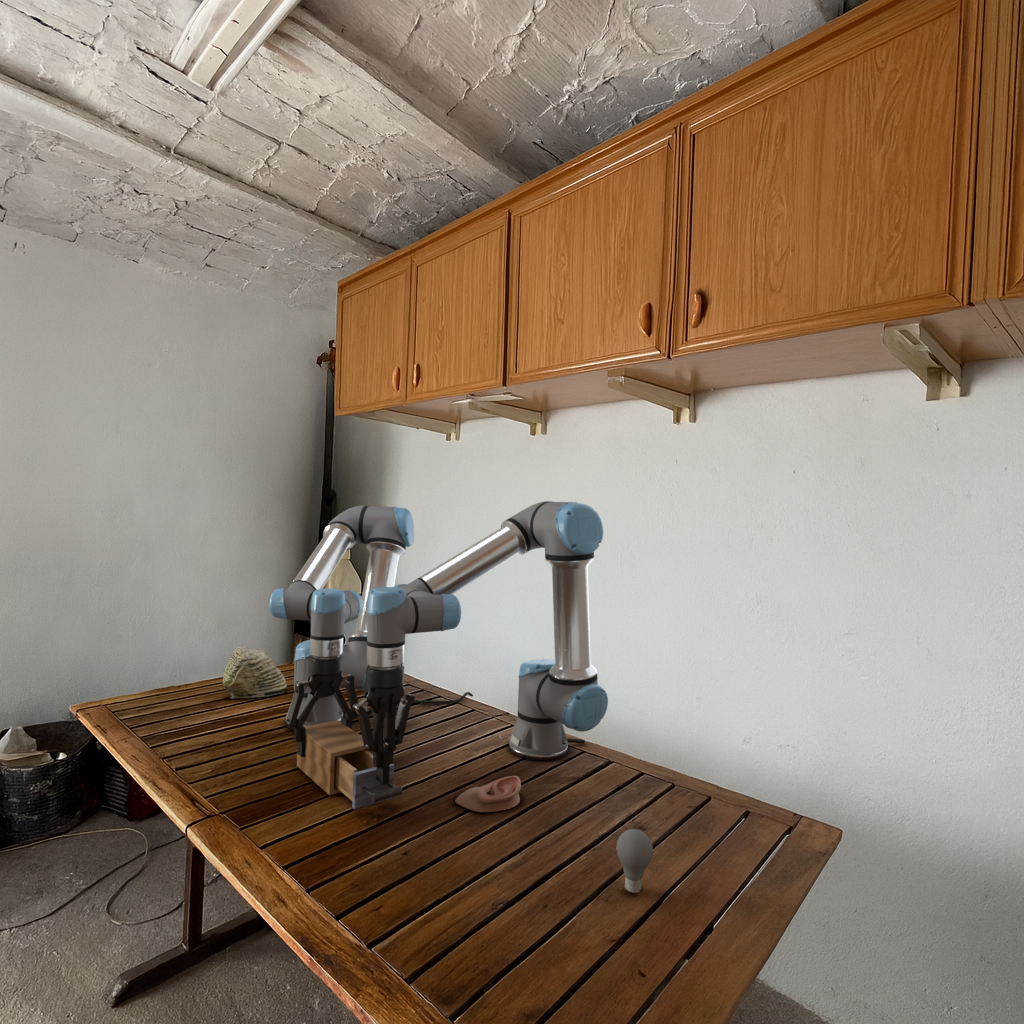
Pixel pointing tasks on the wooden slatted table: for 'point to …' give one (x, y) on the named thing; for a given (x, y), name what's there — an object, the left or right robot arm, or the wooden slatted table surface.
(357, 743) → the cabinet
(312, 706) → the left robot arm
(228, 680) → the fossil
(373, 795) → the drawer
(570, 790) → the wooden slatted table surface
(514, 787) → the anatomical model
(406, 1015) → the wooden slatted table surface
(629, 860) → the light bulb
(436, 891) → the wooden slatted table surface
